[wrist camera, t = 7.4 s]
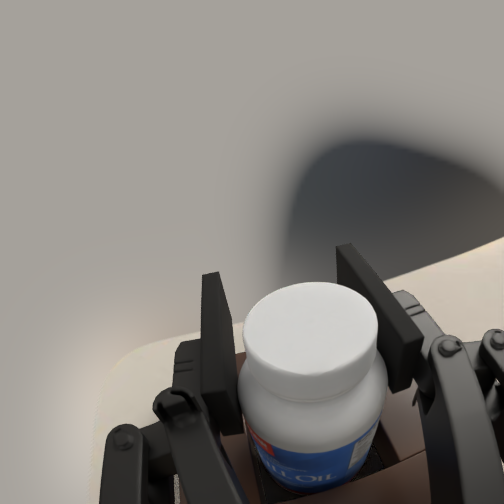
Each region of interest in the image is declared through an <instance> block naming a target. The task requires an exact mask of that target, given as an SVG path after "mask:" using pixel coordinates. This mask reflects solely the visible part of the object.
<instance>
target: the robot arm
mask: <svg viewBox="0 0 504 504" xmlns="http://www.w3.org/2000/svg"><path fill="white" fill-rule="evenodd" d="M336 260H337V261H336V262H337V284H338V285H341V286H345V287H347V288H350V289H352V290H354V291H356V292H357V293H359V294H360V295H362V296H363V297H364V298H366V300H367V301H368V302H369V303H370V304H371V306H372V307H373V309H374V311H375V313H376V317H377V322H378V332H377V342H376V349H377V350H378V351H379V352H380V354H381V356H382V358H383V360H384V362H385V365H386V369H387V374H388V387H389V389H390V391H391V393H392V394H395V393H397V392H400V391H403V390H405V389H408V388H410V387H411V384H412V380H413V379H414V380H415V382H416V384H417V385H418V387H417V390H416V392H415V395H414V398H413V401H412V406H415V404H416V401H417V402H418V408H419V413H420V418H421V424H422V430H423V436H424V443H425V450H426V457H427V465H428V473H429V483H430V494H431V504H504V472H503V467H502V462H501V459H502V461H503V463H504V331H502V330H500V329H491V330H488V331H487V332H486V333H485V334H484V336H483V339H482V341H474V342H462V341H461V340H460V339H458V338H457V337H455V336H452V335H445V334H444V333H443V331H442V330H441V329H440V327H439V326H438V325H437V324H436V322H435V321H434V320H433V319H432V318H431V316H430V315H429V314H428V313H427V311H425V309H424V308H423V307H422V305H420V303H419V302H418V301H417V299H416V298H415V297H414V296H413V295H411V294H410V293H408V292H406V291H404V290H401V291H397V292H394V293H391V291H390V290H389V289H388V288H387V286H386V285H385V284H384V283H383V281H382V280H381V279H380V278H379V276H378V275H377V274H376V273H375V272H374V270H373V269H372V268H371V267H370V265H369V264H368V263H367V262H366V261H365V259H364V258H363V257H362V256H361V255H360V253H359V252H358V251H357V250H356V249H355V247H354V246H353V245H352V244H351V243H349V244H345V245H340V246H336ZM174 364H175V365H174V373H173V383H172V387H169V388H167V389H165V390H163V391H161V392H160V393H159V394H158V395H157V396H156V398H155V400H154V402H153V411H154V413H155V414H156V416H157V417H158V418H159V420H160V421H158V422H156V423H154V424H152V425H149V426H146V427H143V428H141V429H138V428H137V427H136V426H134V425H132V424H122V425H118V426H117V427H115V428H114V429H112V430H111V432H110V433H109V434H108V436H107V439H106V444H105V451H104V459H103V467H102V477H101V487H100V498H99V504H175V498H174V475H175V474H178V477H179V480H180V483H181V486H182V489H183V492H184V495H185V498H186V501H187V503H188V504H250V502H249V500H248V498H247V496H246V494H245V492H244V490H243V488H242V486H241V484H240V481H239V479H238V477H237V475H236V473H235V471H234V469H233V466H232V464H231V462H230V460H229V458H228V455H227V453H226V451H225V449H224V446H223V445H222V443H221V437H220V432H221V433H222V435H223V436H230V435H237V434H243V433H244V424H243V416H242V410H241V407H240V404H239V400H238V393H237V384H238V374H237V365H236V355H235V346H234V337H233V327H232V318H231V314H230V311H229V307H228V303H227V300H226V296H225V292H224V289H223V285H222V282H221V278H220V274H219V272H214V273H209V274H205V275H202V298H201V339H195V340H190V341H184V342H181V343H180V345H179V346H178V348H177V350H176V352H175V359H174ZM497 380H498V381H499V383H498V382H497ZM500 457H501V458H500Z"/></svg>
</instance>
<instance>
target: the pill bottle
mask: <svg viewBox="0 0 504 504" xmlns="http://www.w3.org/2000/svg"><path fill="white" fill-rule="evenodd" d="M377 332H378V322H377V317H376V313H375V311H374V309H373V307H372V306H371V304H370V303H369V302H368V301H367V300H366V298H364V297H363V296H362V295H360V294H359V293H357V292H356V291H354V290H352V289H350V288H347V287H345V286H341V285H338V284H333V283H324V282H307V283H300V284H295V285H290V286H288V287H284V288H281V289H279V290H276V291H274V292H273V293H271V294H269V295H267V296H266V297H264V298H263V299H261V300H260V301H259V302H258V303H257V304H256V305H255V306H254V307H253V308H252V309H251V311H250V312H249V313H248V315H247V317H246V320H245V322H244V325H243V342H244V346H245V351H246V355H247V358H246V360H245V362H244V364H243V366H242V368H241V371H240V374H239V378H238V384H237V393H238V400H239V404H240V407H241V410H242V413H243V416H244V419H245V421H246V423H247V426H248V429H249V431H250V433H251V436H252V438H253V441H254V443H255V445H256V448H257V450H258V452H259V455H260V457H261V460H262V462H263V465H264V467H265V469H266V471H267V473H268V474H269V475H270V477H271V478H272V479H273V480H274V481H275V482H276V483H277V484H278V485H279V486H281V487H282V488H284V489H286V490H288V491H290V492H293V493H296V494H300V495H312V494H315V493H319V492H322V491H326V490H329V489H332V488H335V487H338V486H341V485H344V484H347V483H349V482H350V481H351V480H352V479H353V478H354V477H355V476H356V475H357V474H358V472H359V471H360V470H361V468H362V466H363V464H364V462H365V460H366V457H367V455H368V452H369V449H370V446H371V443H372V441H373V438H374V435H375V432H376V429H377V426H378V423H379V419H380V416H381V413H382V410H383V406H384V402H385V398H386V394H387V388H388V374H387V369H386V365H385V362H384V360H383V358H382V356H381V354H380V352H379V351H378V350H377V349H376V342H377Z"/></svg>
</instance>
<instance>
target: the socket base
mask: <svg viewBox="0 0 504 504" xmlns="http://www.w3.org/2000/svg"><path fill="white" fill-rule="evenodd" d="M235 355H236V365H237V374H238V378H239V374H240V371H241V368H242V366H243V364H244V362H245V360H246V358H247V355H246V352H242V353H238V354H235ZM417 387H418V385H417V384H416V382H415V380H414V379H413V380H412V384H411V387H410V388H408V389H405V390H403V391H400V392H397V393H395V394H392V393H391V391H390V389H389V387H388V388H387V394H386V398H385V402H384V406H383V410H382V413H381V416H380V419H379V423H378V426H377V429H376V432H375V435H374V438H373V443H374V445H375V447H376V449H377V452H378V454H379V456H380V458H381V460H382V462H383V465H384V467H385V469H384V470H381V471H379V472H377V473H374V474H372V475H369V476H366V477H364V478H361V479H358V480H356V481H353V482H350V483H347V484H344V485H341V486H338V487H335V488H332V489H329V490H326V491H322V492H319V493H315V494H312V495H308V496H304V497H301V498H297V499H293V500H288V501H284V502H280V503H275V504H431V494H430V483H429V473H428V465H427V457H426V450H425V443H424V436H423V430H422V424H421V418H420V413H419V408H418V402H417V401H416V404H415V406H412V401H413V398H414V395H415V392H416V390H417ZM242 416H243V413H242ZM243 424H244V433H243V434H237V435H230V436H223V435H222V433H221V432H220V437H221V443H222V445H223V446H224V449H225V451H226V453H227V455H228V458H229V460H230V462H231V464H232V466H233V469H234V471H235V473H236V475H237V477H238V479H239V481H240V484H241V486H242V488H243V490H244V492H245V494H246V496H247V498H248V500H249V502H250V504H267V501H266V497H265V492H264V488H263V483H262V479H261V474H260V469H259V465H258V460H257V455H256V450H255V445H254V441H253V438H252V436H251V433H250V431H249V429H248V426H247V423H246V421H245V419H244V416H243ZM179 489H180V504H188V503H187V501H186V498H185V495H184V492H183V489H182V486H181V483H180V480H179Z"/></svg>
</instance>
